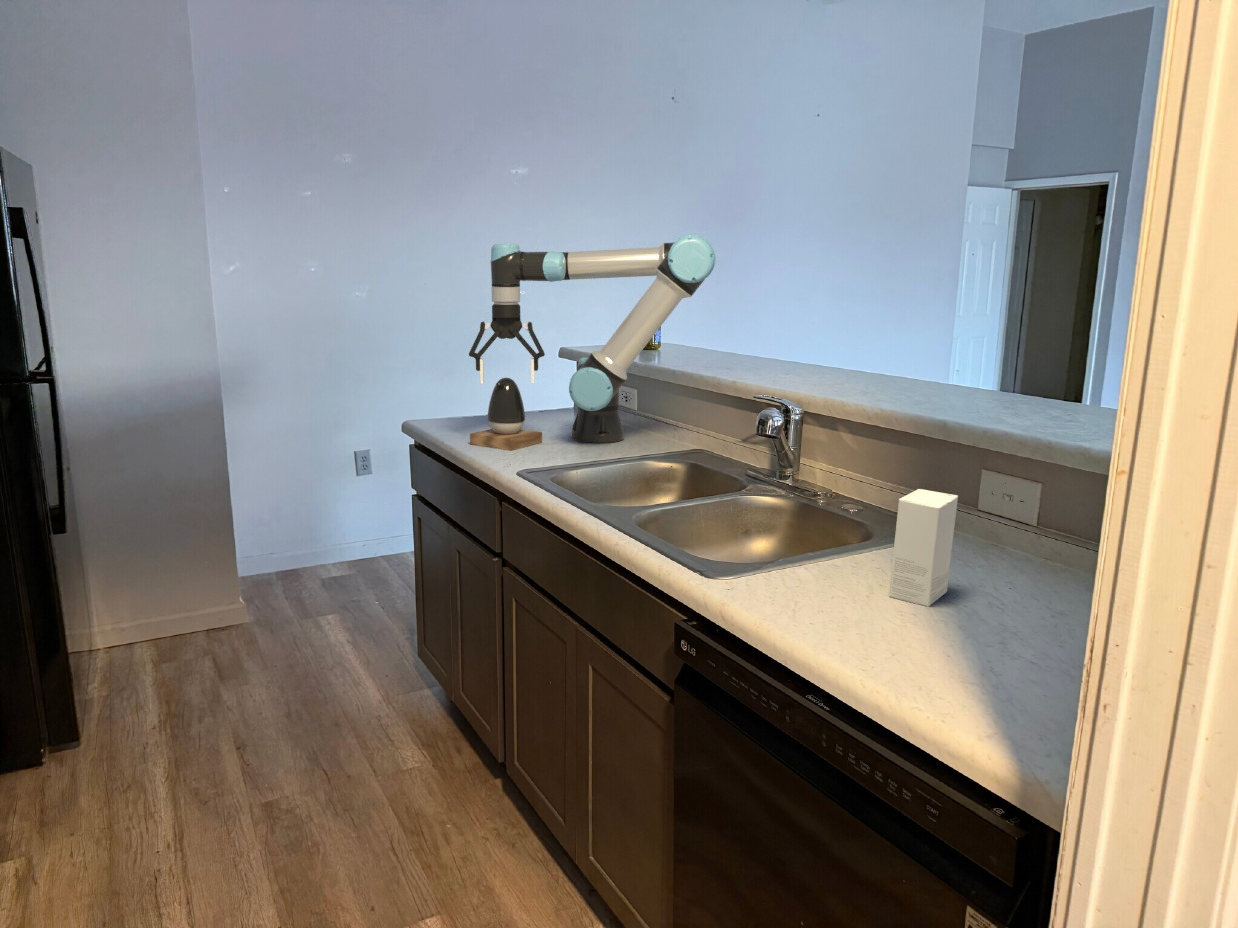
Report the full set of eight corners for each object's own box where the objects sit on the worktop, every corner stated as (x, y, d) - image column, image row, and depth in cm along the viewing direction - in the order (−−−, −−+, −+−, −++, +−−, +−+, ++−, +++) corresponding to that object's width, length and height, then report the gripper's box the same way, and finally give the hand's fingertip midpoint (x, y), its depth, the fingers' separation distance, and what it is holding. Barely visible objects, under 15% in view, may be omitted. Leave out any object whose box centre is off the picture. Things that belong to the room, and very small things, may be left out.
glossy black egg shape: (480, 434, 241) (480, 378, 238) (498, 428, 251) (497, 374, 248) (514, 437, 238) (514, 380, 235) (531, 431, 248) (531, 376, 245)
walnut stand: (541, 442, 248) (542, 432, 247) (511, 450, 236) (511, 439, 235) (501, 437, 254) (501, 426, 254) (470, 444, 243) (470, 433, 242)
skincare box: (908, 583, 140) (917, 487, 137) (950, 593, 136) (961, 494, 133) (887, 597, 134) (896, 497, 131) (930, 608, 130) (940, 505, 127)
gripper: (552, 303, 242) (553, 381, 246) (459, 302, 240) (461, 381, 244) (553, 304, 235) (553, 384, 239) (457, 303, 232) (459, 384, 237)
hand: (507, 383), depth 242 cm, fingers open, 13 cm apart
